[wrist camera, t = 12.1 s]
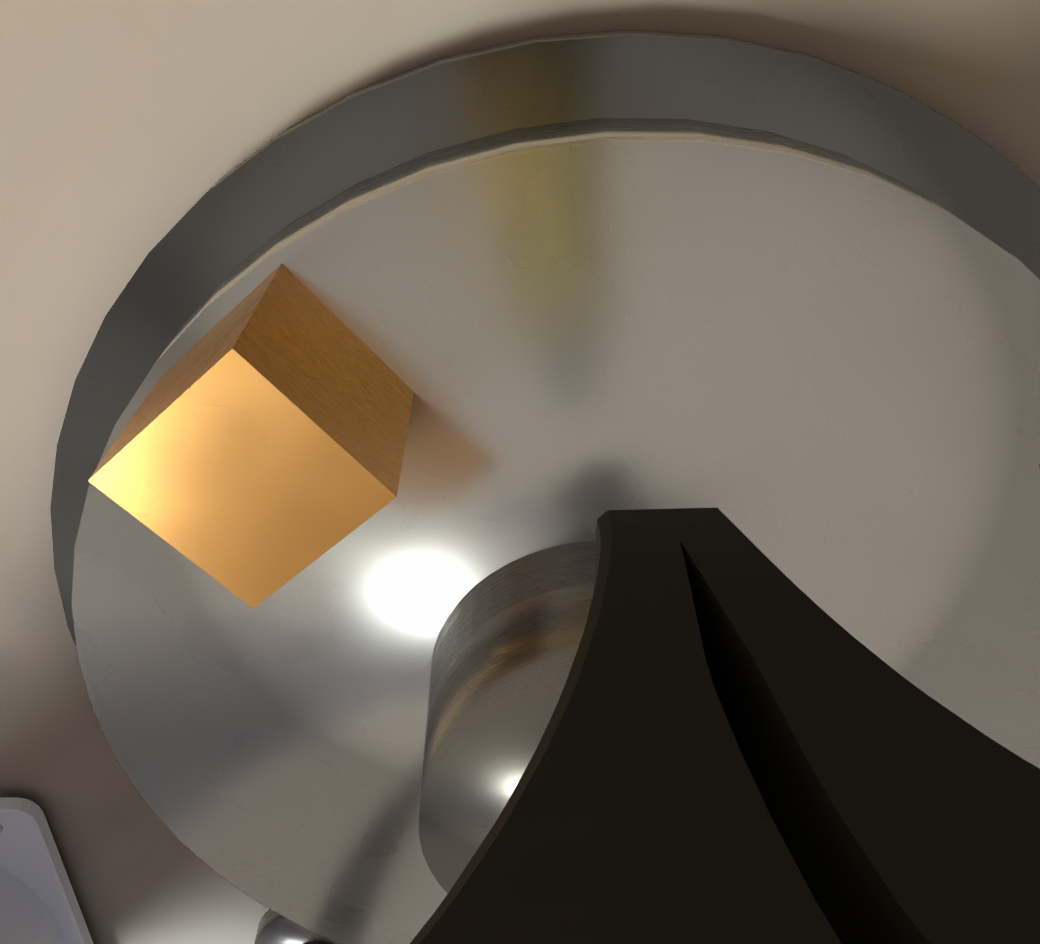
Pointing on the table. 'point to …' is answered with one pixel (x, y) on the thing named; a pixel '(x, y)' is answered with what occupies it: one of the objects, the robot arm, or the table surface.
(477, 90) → the turntable base
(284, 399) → the turntable
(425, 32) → the table surface
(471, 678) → the cover
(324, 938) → the small grey dumbbell
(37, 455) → the table surface
